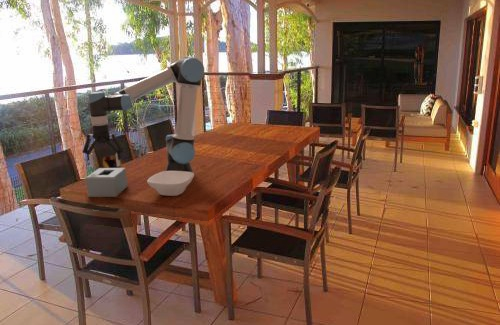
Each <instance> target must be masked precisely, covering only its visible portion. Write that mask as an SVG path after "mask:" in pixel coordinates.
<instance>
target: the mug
mask: <svg viewBox="0 0 500 325" xmlns="http://www.w3.org/2000/svg"><path fill="white" fill-rule="evenodd" d="M101 160H102V165H103V166H102V168H123V167H122V165H123V164H122V158H121V159H120V166H119V167H117V163H116V155H108V156H104V157H103V158H102V159H101Z"/></svg>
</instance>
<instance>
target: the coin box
mask: <svg viewBox="0 0 500 325" xmlns="http://www.w3.org/2000/svg"><path fill="white" fill-rule="evenodd" d="M101 174H102V175H101ZM127 178H128V177H127V169H126V167H122V168H104V167H99V168H97V169H95V171H93V172H91V173H90V174H89V175H87V176H86V177H85V181H86V186H87V187H86V188H87V194H88V198H97V197H99V198H101V197H103V198H105V197H108V198H111V197H118V196H119V195H120V194H121V193H122V192H124V190H125V189H126V188H127V187H128V179H127ZM121 191H122V192H121ZM119 193H120V194H119ZM118 194H119V195H118Z"/></svg>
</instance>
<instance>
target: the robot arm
mask: <svg viewBox="0 0 500 325" xmlns="http://www.w3.org/2000/svg"><path fill="white" fill-rule="evenodd" d="M204 75H205V66H204V64H203V63H202V61H201V60H199V59H198V58H196V57H193V56H190V57H189V56H185V57H181V58H180V59H178V60H177V61H175V62H173V63H171V64H169V65H168V66H167V67H166V68H165V69H163V70H161V71H159V72H157V73H154V74H152V75H150V76H147V77H146V78H143V79H141V80H139V81H137V82H136V83H133V84H131V85H129V86H125V87H123V89H120V90H118V91H114V92H112V93H111V94H110V95H106V94H105V92H103V91H94V92H93V91H92V92H89V93H88V96H87V97H88V98H87V99H88V106H89V112H90V113H89V114H90V120H91V127H92V133H93V134H91V133H89V134H87V135H86V140H85V144H84V146H83V149H82V153H83V154H86V157H87V161H89V166H90V167H89V168H93V167H94V166H95V161H94V155H93V150H94V149H95V147H96V146H97V144H106V145H109V147H110V148H111V149H112V150H113V151H114V152H115V155H114V156H116V163H117V167H119V166H120V159H121V160H122V153H124V151H125V149H124V147H123V145H122V144H121V142H120V140H119V139H118V138H117V134H116V133H115V132H114V133H110V128H109V124H108V123H109V122H108V112H115V111H116V112H117V111H127V110H128V111H129V110H131V109H132V102H134V101H136V100H138V99H140V98H142V97H144V96H146V95H148V94H151V93H152V92H154V91H155V92H156V91H157V90H159V89H161V88H163V87H166V86H167V85H168V86H169V85H170V84H172V83H176V84H178V86H179V88H180V89H179V96H178V106H177V108H178V109H177V115H176V116H177V117H176V124H175V125H176V126H175V132H174V134H167V135H166V136H165V142H166V143H165V145H166V146H165V147H166V155H167V163H166V164H167V165H166V169H165V171H186V172H193V173H194V169H193V167H192V164H191V162H192V161H193V160H194V158H195V156H196V149H195V147H194V146H195V141H196V140H195V137H194V135H193V130H194V123H195V122H194V121H195V112H196V104H197V103H196V102H197V93H198V89H199V88H200V87H201V85H202V78H203V77H204ZM110 138H111V139H110ZM92 139H94V140H93V142H92V143H91V141H92ZM90 144H91V145H90Z"/></svg>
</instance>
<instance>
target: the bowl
mask: <svg viewBox="0 0 500 325" xmlns="http://www.w3.org/2000/svg"><path fill="white" fill-rule="evenodd" d="M194 177H195V172H194V171H193V172H186V171H166V170H163V171H160V172H157V173H155V174H153V175H151V176H150V177H149V178H148V179H147V180H146V183H147V184H148V185H149V187H151V188H153V189H154V190H156V192H157V193H158V194H159V195H160V196H167V197H168V196H169V197H170V196H173V197H175V196H179V195H181V194H183V193H184V192H185V190H186V189H187V187H188V186H189V185H190V183H191V182H192V181H193V178H194Z"/></svg>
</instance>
